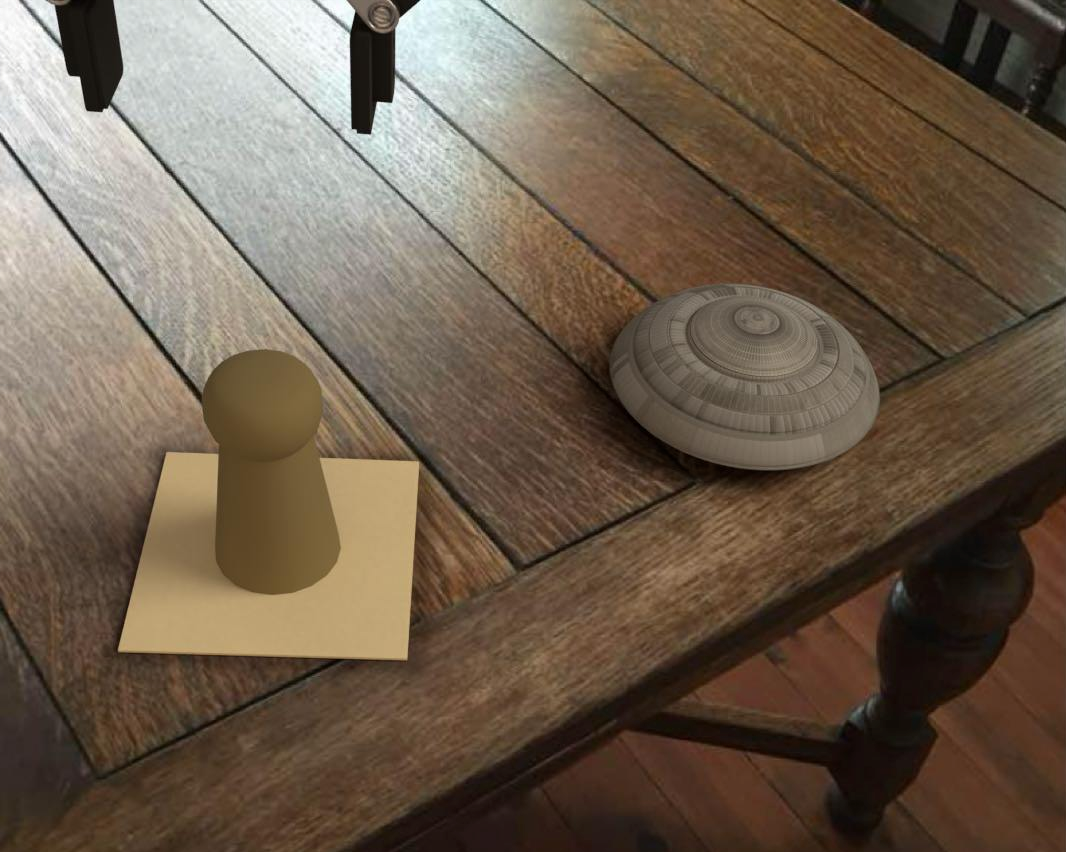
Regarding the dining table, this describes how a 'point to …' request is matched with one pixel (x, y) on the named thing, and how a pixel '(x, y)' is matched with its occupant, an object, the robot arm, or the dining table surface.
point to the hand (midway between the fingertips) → (236, 104)
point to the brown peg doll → (269, 473)
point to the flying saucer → (745, 377)
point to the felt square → (284, 619)
